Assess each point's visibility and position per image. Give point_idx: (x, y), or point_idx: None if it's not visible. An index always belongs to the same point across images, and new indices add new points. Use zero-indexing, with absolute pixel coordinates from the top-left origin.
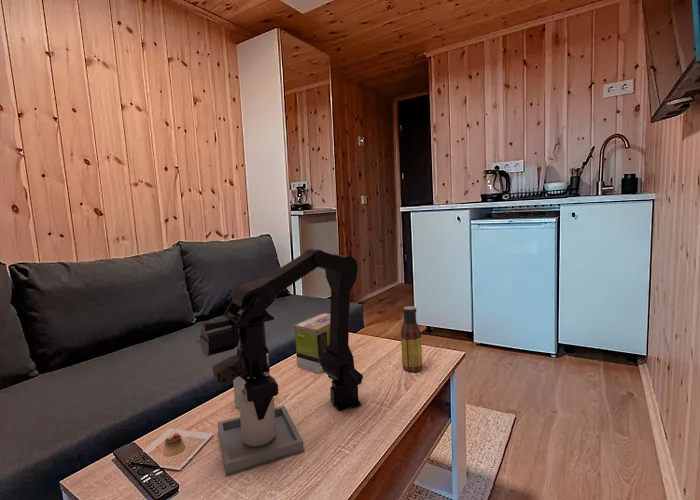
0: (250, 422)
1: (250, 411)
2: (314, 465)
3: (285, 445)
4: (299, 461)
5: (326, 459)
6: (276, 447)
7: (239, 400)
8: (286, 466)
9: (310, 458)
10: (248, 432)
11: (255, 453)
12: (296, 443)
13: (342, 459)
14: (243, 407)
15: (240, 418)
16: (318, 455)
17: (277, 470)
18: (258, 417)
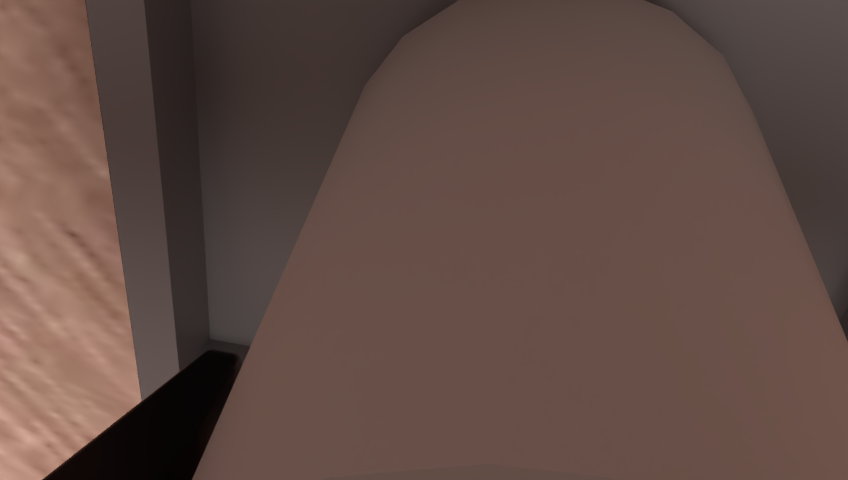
0: (321, 230)
1: (252, 394)
2: (10, 326)
3: (139, 301)
4: (87, 277)
5: (47, 398)
6: (145, 233)
7: (610, 471)
8: (61, 183)
9: (93, 340)
10: (388, 106)
11: (125, 27)
12: (139, 370)
13: (17, 451)
14: (374, 378)
15: (609, 144)
16: (106, 386)
17: (34, 108)
18: (170, 385)
